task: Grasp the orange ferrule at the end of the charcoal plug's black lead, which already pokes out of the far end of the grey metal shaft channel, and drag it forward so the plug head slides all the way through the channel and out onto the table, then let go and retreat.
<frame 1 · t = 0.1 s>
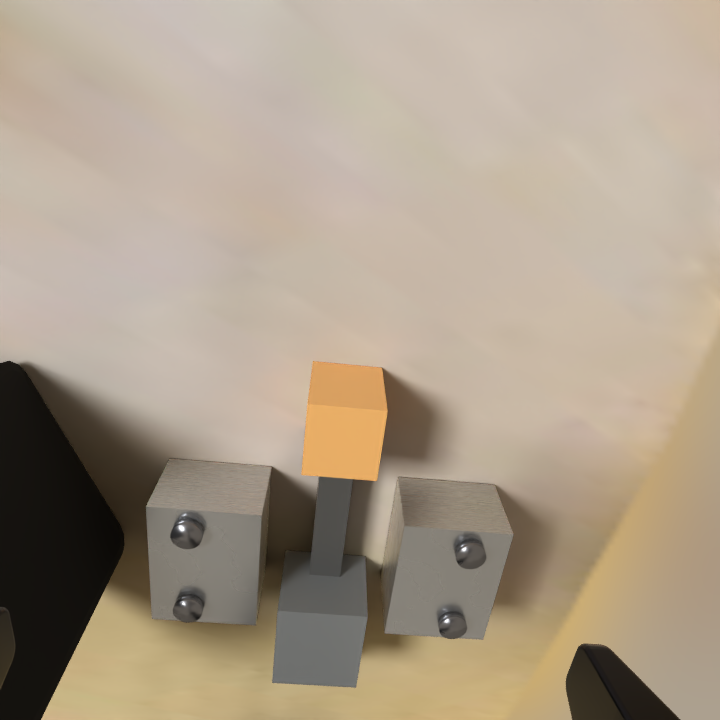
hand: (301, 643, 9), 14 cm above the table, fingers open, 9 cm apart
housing: (329, 525, 26), on the table
plug: (321, 588, 28), on the table
electronic device: (36, 463, 25), on the table
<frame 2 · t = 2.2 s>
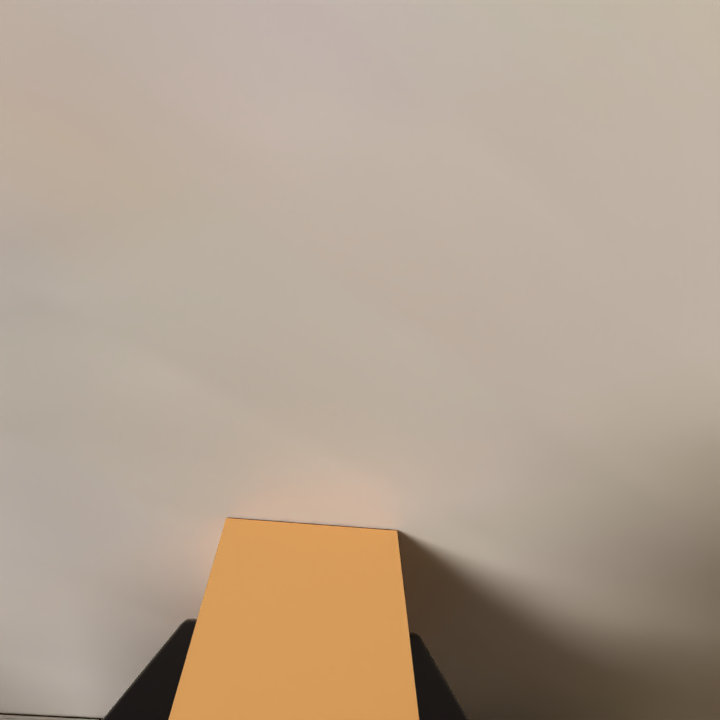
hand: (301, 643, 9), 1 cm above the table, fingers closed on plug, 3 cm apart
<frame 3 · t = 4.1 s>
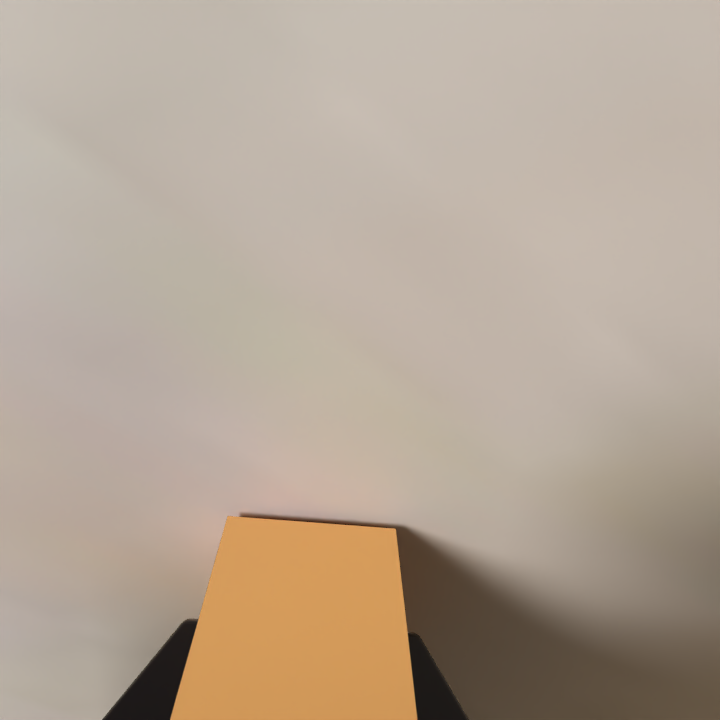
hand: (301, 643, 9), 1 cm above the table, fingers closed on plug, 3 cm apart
when the fingers open (1 cm above the table, at t = 5.9 s): plug stays where it is, on the table.
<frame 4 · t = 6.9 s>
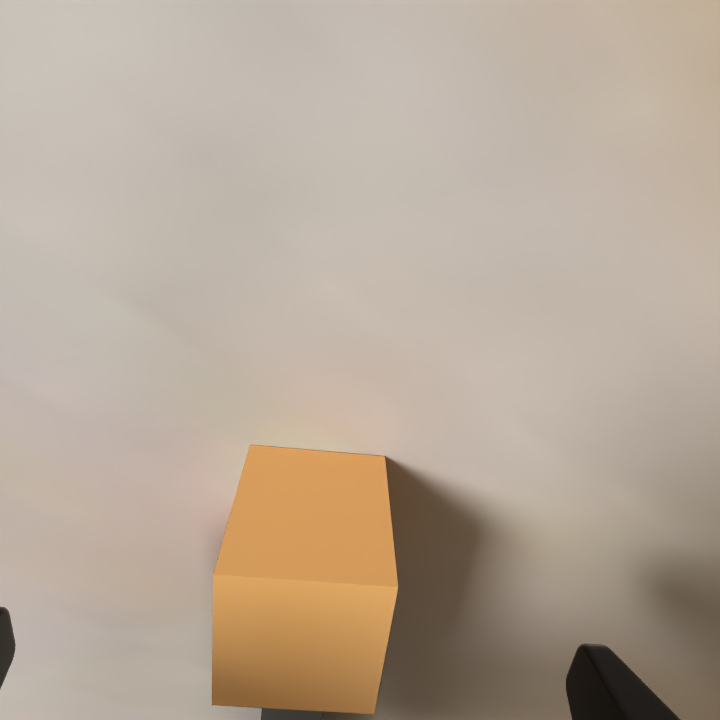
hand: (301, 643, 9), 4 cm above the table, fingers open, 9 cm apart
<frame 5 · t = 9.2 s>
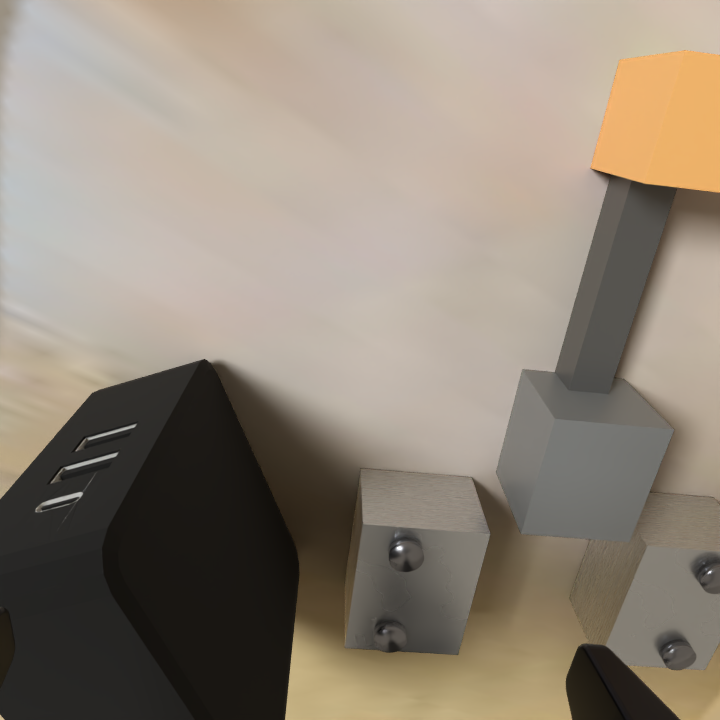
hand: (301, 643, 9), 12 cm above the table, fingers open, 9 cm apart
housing: (523, 541, 24), on the table
plug: (557, 427, 22), on the table
electronic device: (211, 473, 22), on the table
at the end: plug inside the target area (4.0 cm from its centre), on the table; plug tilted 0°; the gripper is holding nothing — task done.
